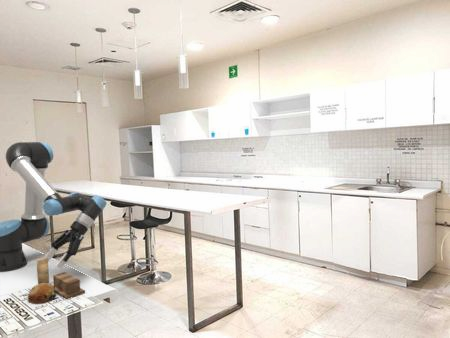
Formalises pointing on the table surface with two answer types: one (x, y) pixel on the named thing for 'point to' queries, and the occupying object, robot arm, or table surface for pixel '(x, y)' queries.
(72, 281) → the base
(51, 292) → the bread roll
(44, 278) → the post
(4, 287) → the table surface
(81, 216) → the robot arm
